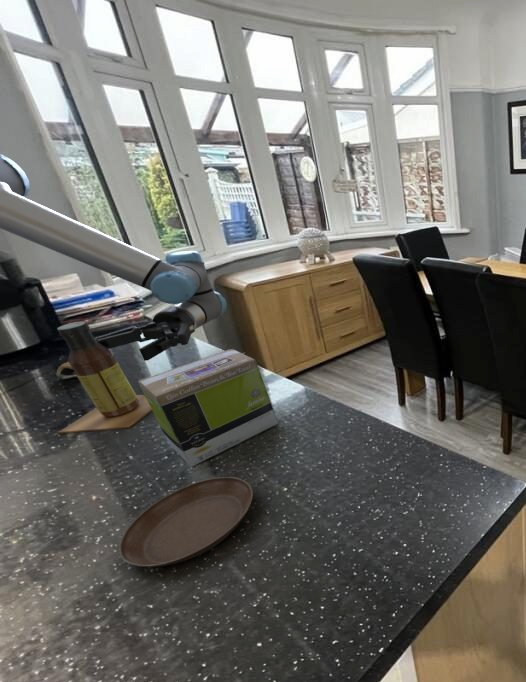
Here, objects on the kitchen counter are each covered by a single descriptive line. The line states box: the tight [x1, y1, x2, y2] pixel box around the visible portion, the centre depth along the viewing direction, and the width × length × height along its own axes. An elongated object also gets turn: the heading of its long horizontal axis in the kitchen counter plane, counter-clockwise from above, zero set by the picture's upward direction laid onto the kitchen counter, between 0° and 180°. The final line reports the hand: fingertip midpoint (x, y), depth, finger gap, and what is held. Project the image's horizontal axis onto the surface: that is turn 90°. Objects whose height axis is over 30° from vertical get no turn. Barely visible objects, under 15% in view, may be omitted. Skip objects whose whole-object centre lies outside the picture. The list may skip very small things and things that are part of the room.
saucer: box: [118, 476, 254, 568], centre depth 55 cm, size 15×15×3 cm
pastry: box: [55, 361, 78, 380], centre depth 102 cm, size 9×7×4 cm
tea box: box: [137, 348, 279, 468], centre depth 72 cm, size 15×10×15 cm, turn 145°
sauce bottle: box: [56, 321, 139, 417], centre depth 79 cm, size 6×6×20 cm
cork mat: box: [58, 394, 153, 434], centre depth 84 cm, size 13×13×1 cm
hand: (108, 357), depth 82 cm, fingers open, 13 cm apart
